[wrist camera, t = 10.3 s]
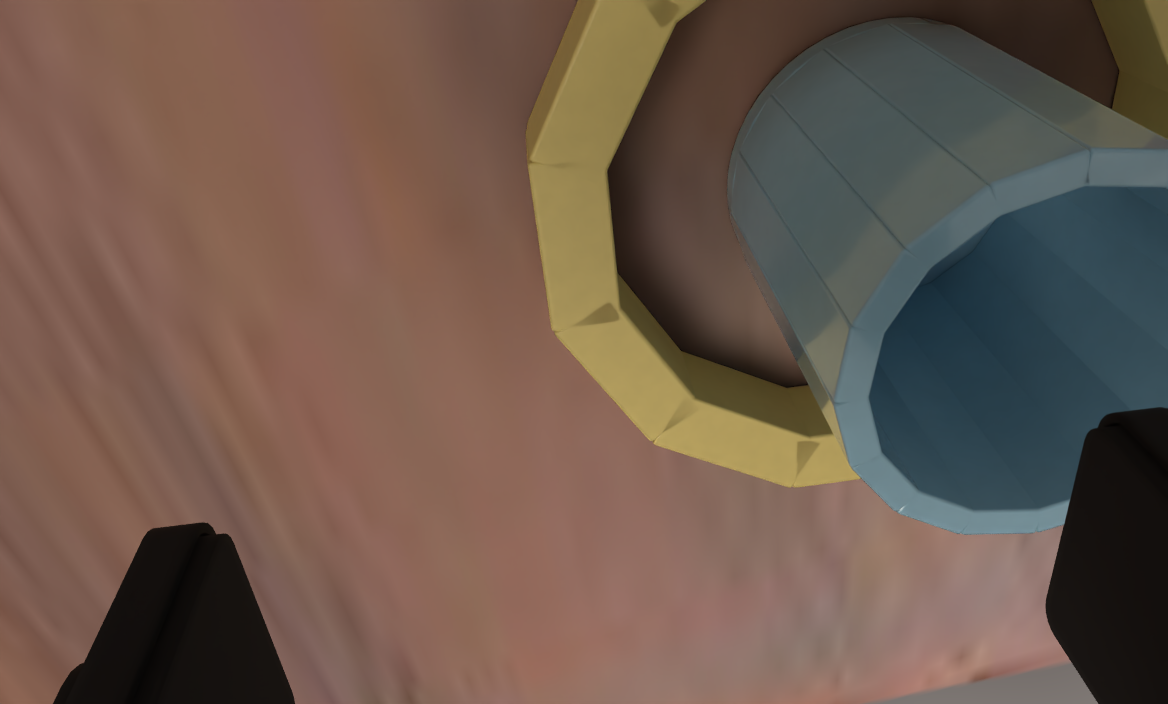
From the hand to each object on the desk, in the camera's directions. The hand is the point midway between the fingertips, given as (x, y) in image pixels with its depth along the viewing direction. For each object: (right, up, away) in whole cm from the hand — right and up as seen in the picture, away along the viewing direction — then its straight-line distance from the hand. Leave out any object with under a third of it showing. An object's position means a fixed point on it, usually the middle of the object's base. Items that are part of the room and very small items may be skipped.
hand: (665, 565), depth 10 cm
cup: (+5, +6, +9) cm, 12 cm away
